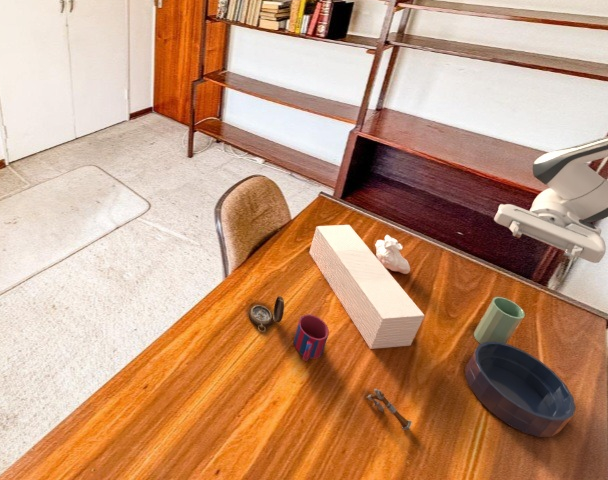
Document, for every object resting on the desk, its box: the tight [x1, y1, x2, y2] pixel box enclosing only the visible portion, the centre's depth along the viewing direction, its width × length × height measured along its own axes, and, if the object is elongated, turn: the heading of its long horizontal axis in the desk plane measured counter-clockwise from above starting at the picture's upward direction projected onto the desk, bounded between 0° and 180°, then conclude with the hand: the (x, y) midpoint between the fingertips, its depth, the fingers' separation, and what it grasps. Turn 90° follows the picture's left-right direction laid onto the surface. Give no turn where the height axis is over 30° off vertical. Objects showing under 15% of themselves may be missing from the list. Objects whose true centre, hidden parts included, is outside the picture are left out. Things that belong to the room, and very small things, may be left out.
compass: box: [248, 295, 285, 333], centre depth 100 cm, size 8×8×7 cm
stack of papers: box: [309, 224, 426, 350], centre depth 108 cm, size 32×11×11 cm, turn 6°
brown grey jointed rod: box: [365, 388, 413, 431], centre depth 82 cm, size 2×8×4 cm, turn 46°
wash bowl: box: [464, 342, 576, 438], centre depth 86 cm, size 16×16×6 cm
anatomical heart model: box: [374, 234, 411, 275], centre depth 119 cm, size 12×8×11 cm
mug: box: [293, 314, 330, 362], centre depth 93 cm, size 7×10×7 cm
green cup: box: [473, 296, 526, 344], centre depth 97 cm, size 6×6×12 cm
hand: (541, 245), depth 96 cm, fingers open, 8 cm apart
